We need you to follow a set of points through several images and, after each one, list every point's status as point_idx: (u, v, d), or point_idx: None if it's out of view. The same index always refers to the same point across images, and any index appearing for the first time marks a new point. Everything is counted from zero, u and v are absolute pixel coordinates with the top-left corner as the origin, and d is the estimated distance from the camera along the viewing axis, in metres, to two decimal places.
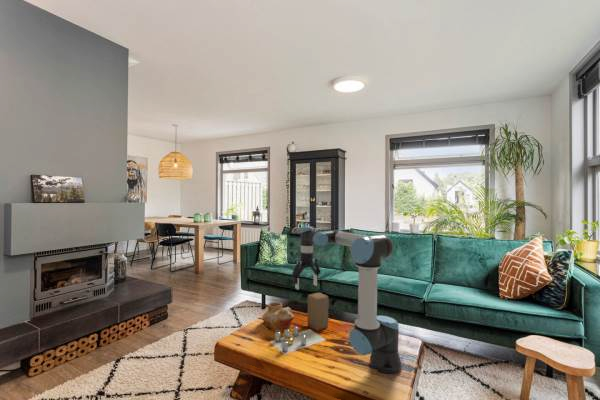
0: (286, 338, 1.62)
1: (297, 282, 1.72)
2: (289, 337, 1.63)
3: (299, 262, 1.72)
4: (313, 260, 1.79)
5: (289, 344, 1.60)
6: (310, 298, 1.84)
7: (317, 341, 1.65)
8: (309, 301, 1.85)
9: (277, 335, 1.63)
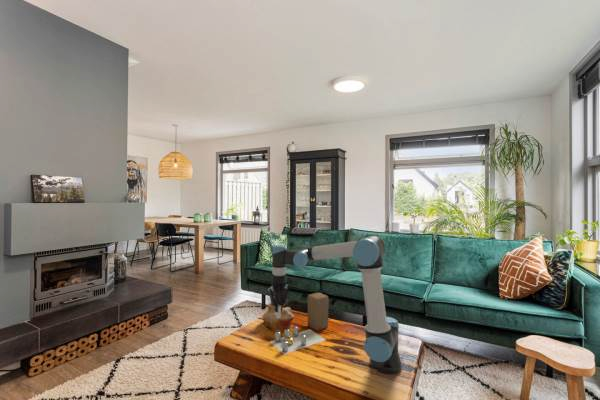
0: (286, 338, 1.61)
1: (278, 310, 1.57)
2: (289, 337, 1.63)
3: (270, 290, 1.53)
4: (286, 285, 1.60)
5: (289, 344, 1.60)
6: (310, 298, 1.84)
7: (317, 341, 1.65)
8: (309, 301, 1.85)
9: (277, 335, 1.63)
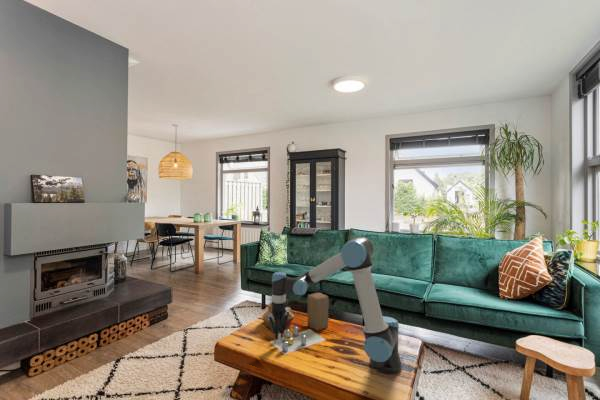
0: (286, 338, 1.61)
1: (278, 338, 1.57)
2: (289, 337, 1.63)
3: (270, 318, 1.53)
4: (286, 312, 1.60)
5: (290, 344, 1.60)
6: (310, 298, 1.84)
7: (317, 341, 1.65)
8: (309, 301, 1.85)
9: None
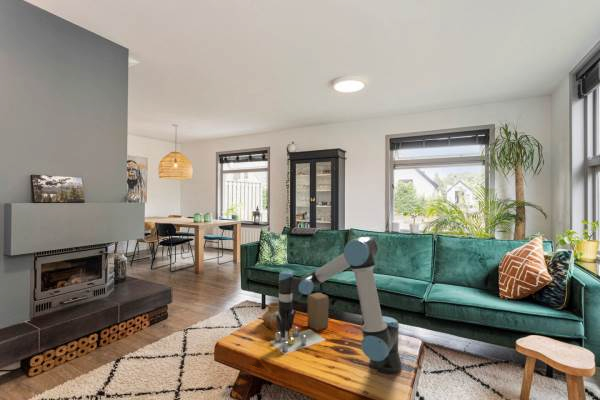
0: None
1: (284, 336, 1.59)
2: (290, 337, 1.63)
3: (277, 316, 1.56)
4: (292, 310, 1.62)
5: (291, 344, 1.60)
6: (310, 298, 1.84)
7: (317, 341, 1.65)
8: (309, 301, 1.85)
9: (277, 335, 1.63)
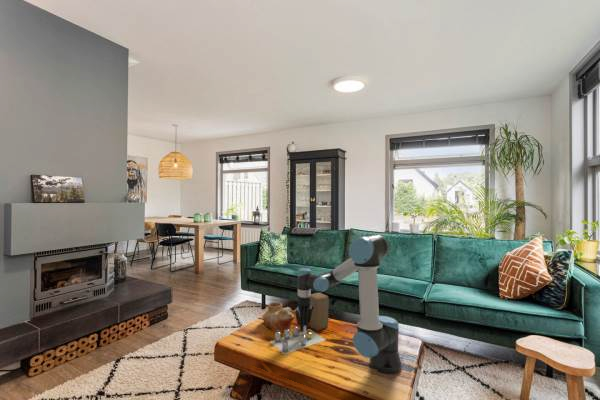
0: None
1: (303, 330, 1.66)
2: (308, 331, 1.70)
3: (297, 311, 1.63)
4: (310, 306, 1.70)
5: (309, 338, 1.67)
6: None
7: (317, 341, 1.65)
8: None
9: (277, 335, 1.63)
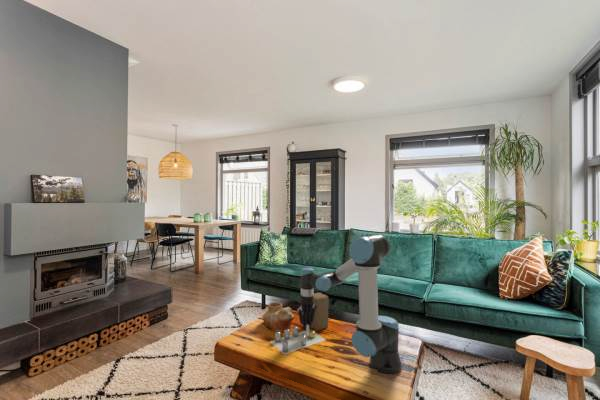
0: None
1: (306, 329, 1.67)
2: (311, 330, 1.71)
3: (300, 310, 1.64)
4: (313, 305, 1.71)
5: (312, 337, 1.68)
6: None
7: (317, 341, 1.65)
8: None
9: (277, 335, 1.63)
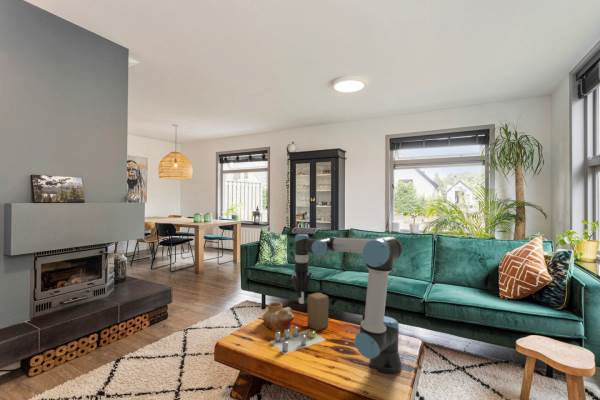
0: (308, 331, 1.70)
1: (301, 296, 1.64)
2: (311, 330, 1.71)
3: (294, 276, 1.61)
4: (308, 272, 1.68)
5: (312, 337, 1.68)
6: (310, 298, 1.84)
7: (317, 341, 1.65)
8: (309, 301, 1.85)
9: (277, 335, 1.63)
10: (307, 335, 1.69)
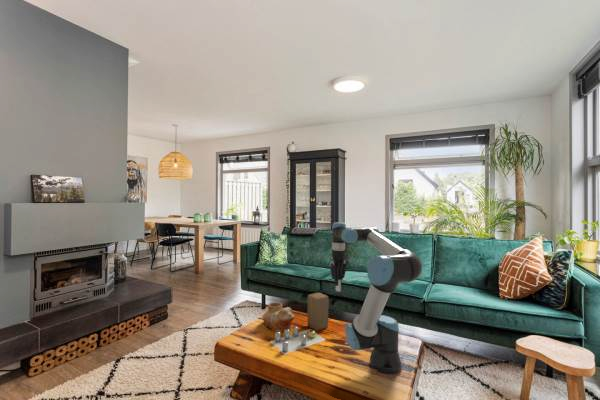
0: (308, 331, 1.70)
1: (338, 284, 1.65)
2: (311, 330, 1.71)
3: (332, 264, 1.61)
4: (344, 260, 1.68)
5: (312, 337, 1.68)
6: (310, 298, 1.84)
7: (317, 341, 1.65)
8: (309, 301, 1.85)
9: (277, 335, 1.63)
10: (307, 335, 1.69)
